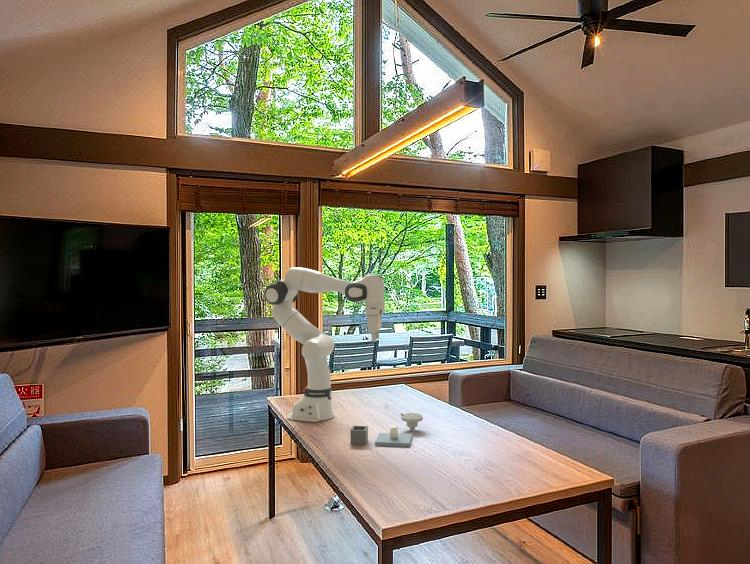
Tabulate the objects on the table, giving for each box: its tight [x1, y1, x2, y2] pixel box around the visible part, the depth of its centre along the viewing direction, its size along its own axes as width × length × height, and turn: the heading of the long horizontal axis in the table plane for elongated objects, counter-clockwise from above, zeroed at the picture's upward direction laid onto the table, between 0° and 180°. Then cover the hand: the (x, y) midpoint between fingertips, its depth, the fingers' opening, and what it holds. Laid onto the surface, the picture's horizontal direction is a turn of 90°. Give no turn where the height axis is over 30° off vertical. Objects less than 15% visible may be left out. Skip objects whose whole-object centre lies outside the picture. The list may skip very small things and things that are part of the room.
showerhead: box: [399, 412, 424, 432], centre depth 231 cm, size 9×7×10 cm
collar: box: [349, 425, 369, 446], centre depth 216 cm, size 6×6×6 cm
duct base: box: [374, 425, 413, 448], centre depth 216 cm, size 14×12×6 cm
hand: (375, 340), depth 238 cm, fingers open, 8 cm apart
